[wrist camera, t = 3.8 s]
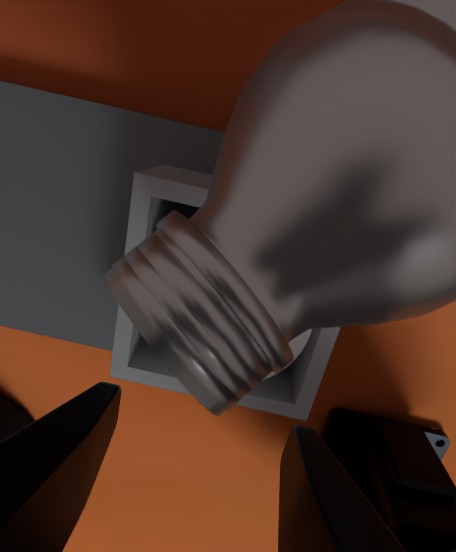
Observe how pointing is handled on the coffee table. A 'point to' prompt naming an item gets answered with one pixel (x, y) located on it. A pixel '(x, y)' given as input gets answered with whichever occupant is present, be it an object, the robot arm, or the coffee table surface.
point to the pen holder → (11, 418)
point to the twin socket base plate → (107, 229)
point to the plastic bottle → (311, 202)
